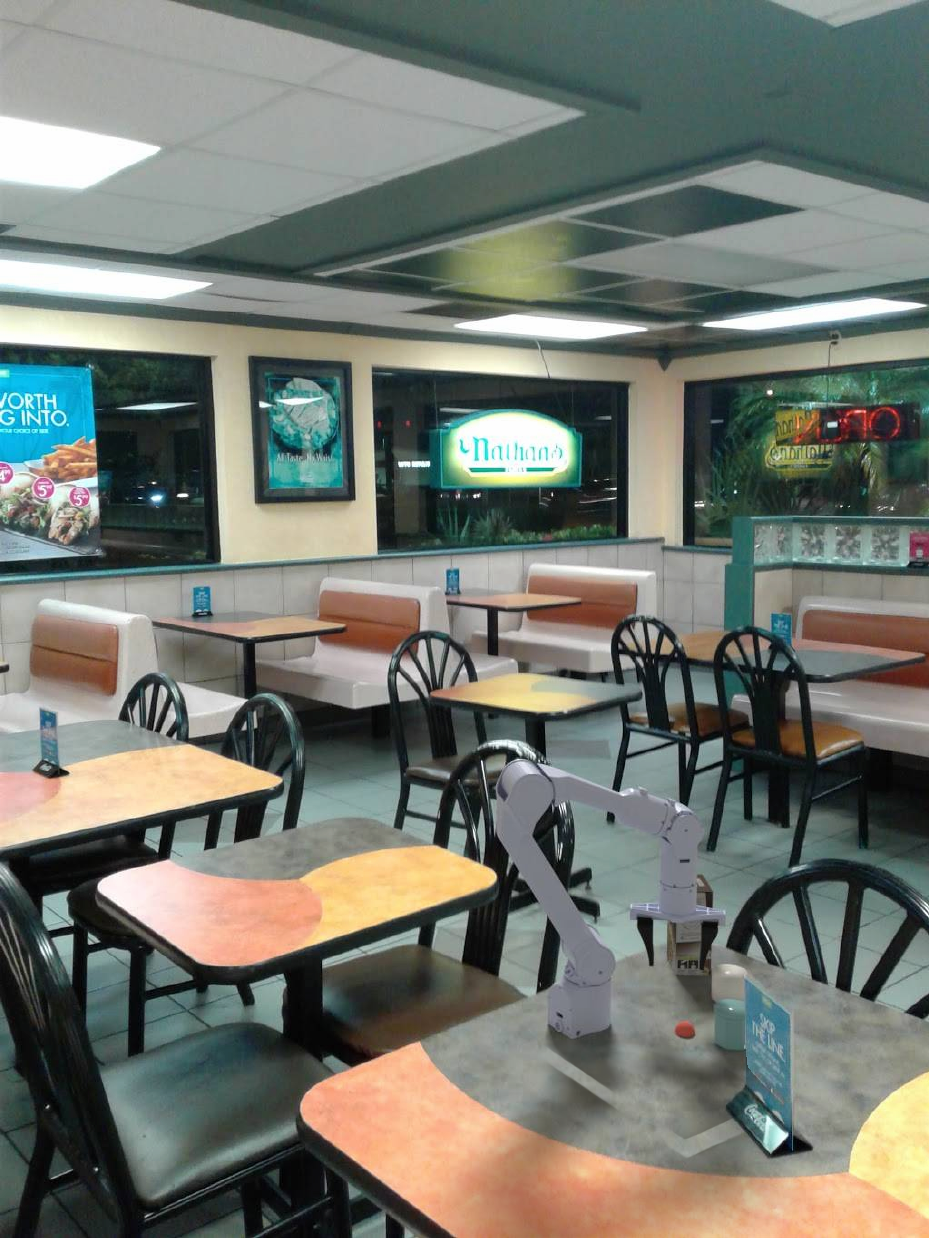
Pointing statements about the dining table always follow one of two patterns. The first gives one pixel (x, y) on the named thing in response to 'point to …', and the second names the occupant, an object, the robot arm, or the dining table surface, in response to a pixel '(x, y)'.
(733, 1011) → the teal octagonal canister
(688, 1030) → the red ball
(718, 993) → the white rounded cylinder
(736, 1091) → the dining table surface
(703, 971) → the coffee box
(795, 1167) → the dining table surface
